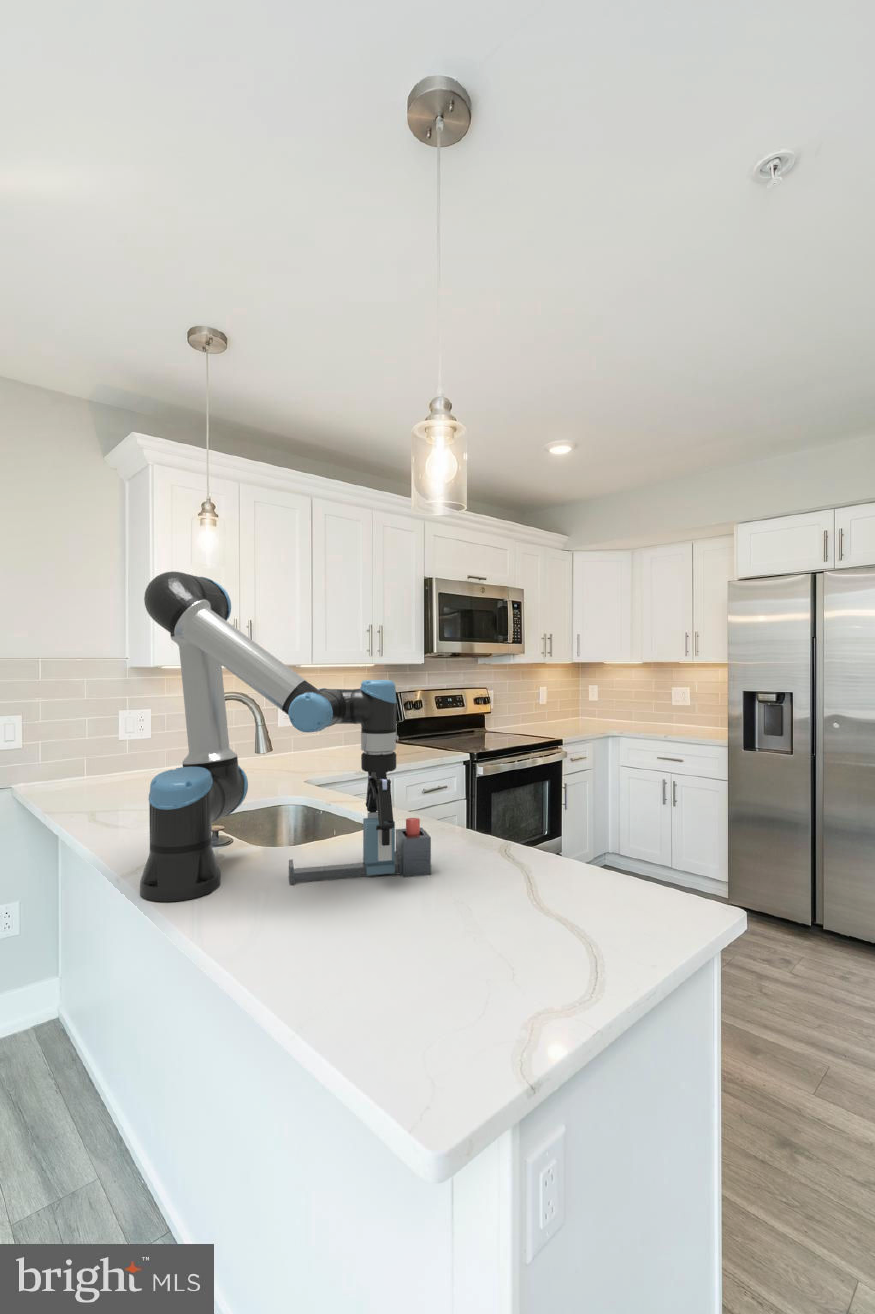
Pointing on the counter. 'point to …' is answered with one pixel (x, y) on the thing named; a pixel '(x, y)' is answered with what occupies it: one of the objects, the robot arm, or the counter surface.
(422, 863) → the block
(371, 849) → the carriage
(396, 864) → the rail
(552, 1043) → the counter surface
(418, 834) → the cylinder
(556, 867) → the counter surface
